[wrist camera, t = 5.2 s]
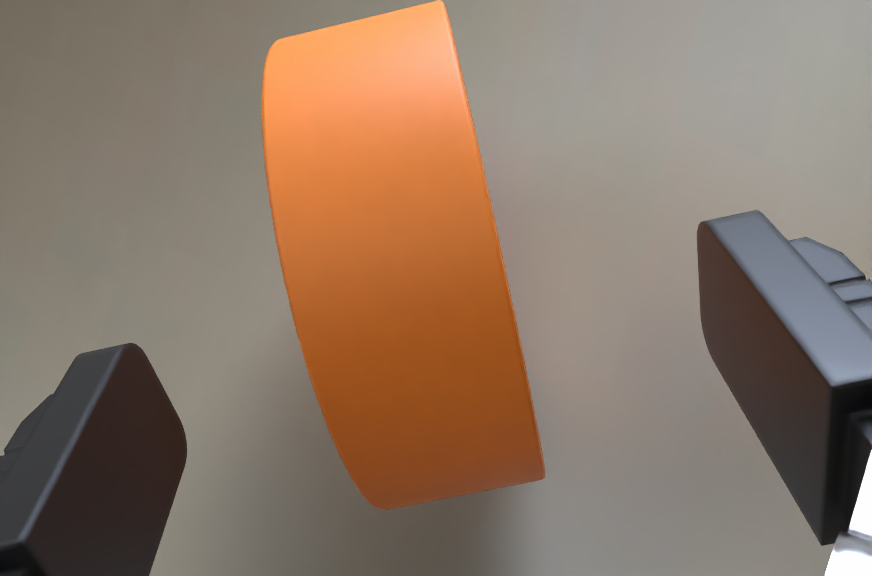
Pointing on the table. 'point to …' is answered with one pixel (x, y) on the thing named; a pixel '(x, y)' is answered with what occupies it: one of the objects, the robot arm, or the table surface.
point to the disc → (396, 259)
